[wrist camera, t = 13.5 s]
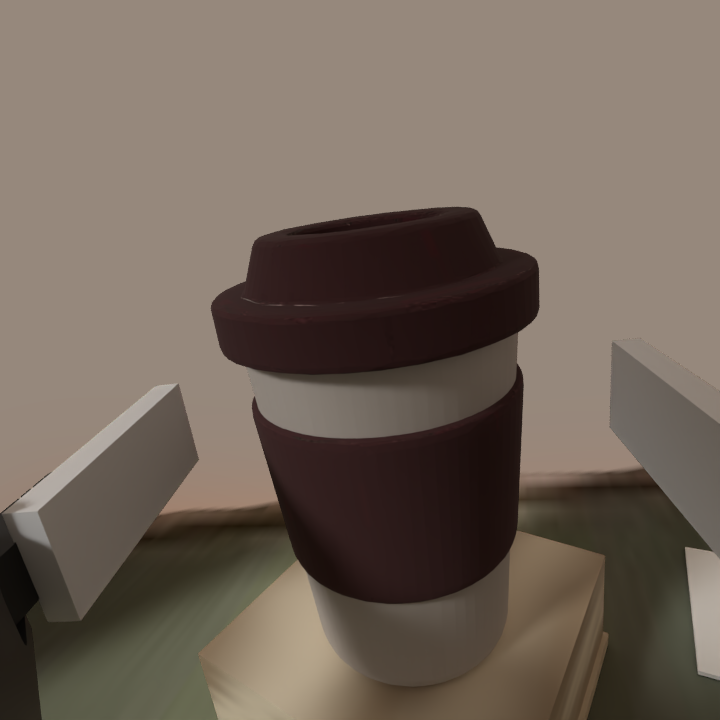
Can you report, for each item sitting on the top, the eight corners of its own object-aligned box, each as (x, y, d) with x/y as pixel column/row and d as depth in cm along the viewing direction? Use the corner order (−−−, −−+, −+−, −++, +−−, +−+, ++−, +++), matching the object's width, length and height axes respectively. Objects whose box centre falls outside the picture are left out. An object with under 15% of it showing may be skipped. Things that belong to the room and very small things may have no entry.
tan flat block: (219, 746, 21) (190, 655, 20) (381, 558, 30) (370, 486, 29) (513, 984, 14) (506, 871, 12) (608, 643, 23) (611, 553, 22)
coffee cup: (416, 502, 27) (383, 207, 22) (600, 607, 19) (610, 188, 14) (246, 609, 21) (152, 248, 17) (406, 814, 14) (317, 254, 9)
